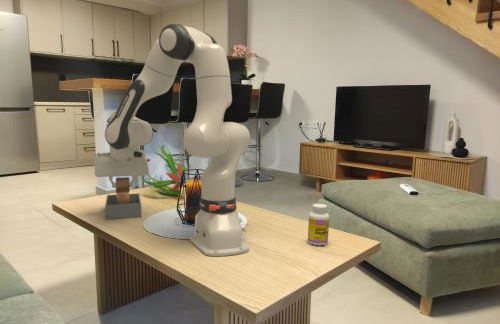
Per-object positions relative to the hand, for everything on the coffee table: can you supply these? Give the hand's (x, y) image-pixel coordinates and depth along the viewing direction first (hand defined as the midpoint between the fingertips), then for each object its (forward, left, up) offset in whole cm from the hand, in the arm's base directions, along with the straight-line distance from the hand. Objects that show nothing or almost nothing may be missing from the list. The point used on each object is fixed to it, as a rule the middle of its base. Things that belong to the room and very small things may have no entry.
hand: (122, 187), depth 146 cm
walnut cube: (0, 0, -2) cm, 2 cm away
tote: (+4, 0, -12) cm, 12 cm away
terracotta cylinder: (+8, 0, -11) cm, 13 cm away
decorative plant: (+31, -23, -12) cm, 40 cm away
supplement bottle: (-48, -61, -12) cm, 79 cm away
